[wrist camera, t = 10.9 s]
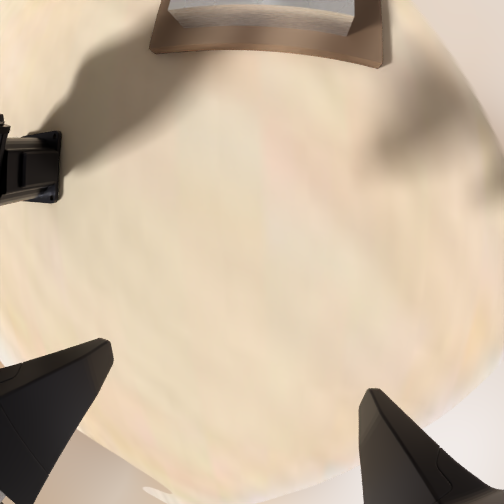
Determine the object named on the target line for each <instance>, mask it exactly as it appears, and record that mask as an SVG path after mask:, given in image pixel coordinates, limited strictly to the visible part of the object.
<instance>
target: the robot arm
mask: <svg viewBox="0 0 504 504" xmlns="http://www.w3.org/2000/svg"><path fill="white" fill-rule="evenodd" d="M4 122H5V121H4V117H3V114H0V206H2V205H6V204H11V203H15V202H19V201H28V202H41V203H56V202H57V200H58V175H59V156H60V143H61V132H60V131H51V132H45V133H39V134H33V135H28V136H23V137H21V138H7V136H8V133H9V131H10V127H11V126H9V125H6V124H4ZM56 135H57V136H56ZM113 361H114V358H113V352H112V347H111V343H110V341H108V340H106V339H103V338H98V339H95V340H92V341H89V342H86V343H83V344H80V345H77V346H73V347H70V348H67V349H64V350H61V351H58V352H55V353H52V354H48V355H45V356H42V357H39V358H35V359H32V360H29V361H26V362H23V363H19V364H16V365H12V366H8V367H5V368H0V504H3V503H2V500H3V499H4V497H5V496H7V497H8V498H9V499H11V500H12V501H13V502H14V503H15V504H33V503H34V502H35V500H36V498H37V495H38V494H39V492H40V490H41V488H42V487H43V485H44V483H45V481H46V479H47V478H48V476H49V475H48V474H50V472H51V470H52V469H53V467H54V465H55V463H56V462H57V460H58V458H59V456H60V455H61V453H62V451H63V450H64V448H65V446H66V445H67V443H68V441H69V440H70V438H71V436H72V435H73V433H74V431H75V430H76V428H77V427H78V425H79V423H80V422H81V420H82V418H83V417H84V415H85V414H86V412H87V411H88V409H89V407H90V406H91V404H92V403H93V401H94V400H95V398H96V396H97V395H98V393H99V391H100V389H101V387H102V385H103V383H104V381H105V379H106V377H107V375H108V373H109V371H110V369H111V367H112V365H113ZM359 455H360V464H361V474H362V485H363V498H364V504H504V490H499V489H495V488H492V487H490V486H488V485H487V484H485V483H484V482H482V481H481V480H480V479H478V478H477V477H476V476H474V475H473V474H472V473H470V472H469V471H467V470H466V469H465V468H464V467H462V466H461V465H460V464H459V463H457V462H456V461H455V460H454V459H453V458H452V457H450V455H448V454H447V453H446V452H445V451H444V450H443V449H442V448H440V446H439V445H438V444H437V443H436V442H435V441H434V440H432V439H431V438H430V437H429V436H428V435H427V434H426V433H425V432H424V431H423V430H422V429H421V428H420V427H419V426H418V425H417V424H416V423H415V422H414V421H413V420H412V419H411V418H410V417H409V416H408V415H406V414H405V413H404V412H403V411H402V410H401V409H400V408H399V407H398V406H397V405H396V404H395V403H394V402H393V401H392V400H391V399H390V398H389V397H388V396H387V395H386V394H385V393H384V392H383V391H382V390H381V389H378V388H369V389H368V390H367V391H366V393H365V395H364V397H363V399H362V401H361V403H360V406H359Z"/></svg>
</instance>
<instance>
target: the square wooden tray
mask: <svg viewBox="0 0 504 504" xmlns="http://www.w3.org/2000/svg"><path fill="white" fill-rule="evenodd" d="M169 4H170V0H161V4H160V7H159V11H158V14H157V18H156V21H155V25H154V29H153V33H152V37H151V41H150V46H149V50H151V51H152V52H154V53H155V54H161V53H171V52H182V51H198V50H258V51H274V52H285V53H295V54H303V55H311V56H318V57H324V58H330V59H336V60H341V61H346V62H351V63H356V64H360V65H364V66H369V67H373V68H377V69H378V68H379V67H380V66H381V64H382V62H383V47H382V16H381V0H354V19H353V21H352V24H351V26H350V29H349V31H348V34H347V36H341V35H336V34H330V33H324V32H317V31H310V30H302V29H293V28H282V27H266V26H209V27H194V28H183V27H182V26H181V25H180V23H179V22H178V21H177V20H176V19H175V18H174V17H173V16H172V14H171V13H170V12H169V11H168V7H169Z"/></svg>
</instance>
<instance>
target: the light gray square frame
mask: <svg viewBox="0 0 504 504" xmlns="http://www.w3.org/2000/svg"><path fill="white" fill-rule="evenodd" d="M168 11H169V12H170V13H171V14H172V16H173V17H174V18H175V19H176V20H177V21H178V22H179V23H180V25H181V26H182V27H183V28H194V27H209V26H266V27H282V28H293V29H302V30H310V31H317V32H324V33H330V34H336V35H341V36H347V34H348V31H349V29H350V26H351V24H352V21H353V19H354V0H170V4H169V7H168Z"/></svg>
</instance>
